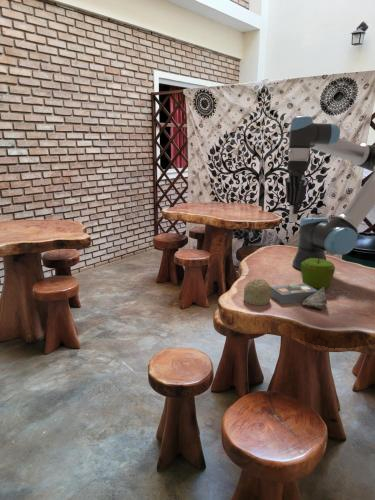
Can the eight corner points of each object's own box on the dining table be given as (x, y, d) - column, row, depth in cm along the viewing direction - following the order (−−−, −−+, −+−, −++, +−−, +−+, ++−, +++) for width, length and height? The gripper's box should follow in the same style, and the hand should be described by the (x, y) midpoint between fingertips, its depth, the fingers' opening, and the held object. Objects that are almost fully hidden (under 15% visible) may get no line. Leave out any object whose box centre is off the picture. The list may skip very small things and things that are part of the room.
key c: (284, 293, 130) (285, 288, 130) (289, 296, 127) (289, 291, 127) (276, 294, 130) (277, 288, 129) (281, 297, 127) (281, 292, 126)
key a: (305, 291, 133) (306, 285, 132) (310, 294, 130) (311, 288, 129) (298, 291, 132) (298, 286, 131) (303, 295, 129) (303, 289, 128)
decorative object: (255, 316, 123) (274, 296, 119) (234, 296, 126) (251, 275, 122) (263, 309, 131) (281, 289, 127) (242, 290, 134) (259, 270, 130)
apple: (294, 281, 147) (297, 254, 144) (323, 280, 148) (326, 254, 145) (307, 292, 135) (310, 263, 132) (338, 292, 136) (342, 263, 133)
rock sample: (295, 289, 128) (316, 277, 123) (309, 300, 130) (330, 289, 125) (297, 311, 120) (320, 300, 115) (312, 323, 123) (335, 312, 118)
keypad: (304, 291, 136) (305, 282, 135) (317, 299, 128) (318, 289, 127) (270, 295, 132) (270, 285, 131) (281, 304, 124) (282, 293, 123)
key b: (295, 289, 131) (296, 283, 131) (300, 292, 128) (301, 286, 128) (287, 289, 130) (288, 284, 130) (292, 293, 127) (293, 287, 127)
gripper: (280, 159, 141) (275, 219, 147) (299, 160, 129) (293, 225, 135) (297, 159, 143) (292, 218, 149) (317, 160, 131) (310, 224, 137)
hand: (292, 221), depth 142 cm, fingers closed
